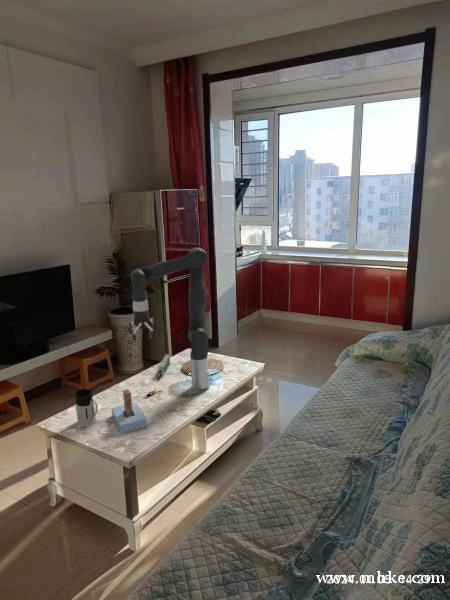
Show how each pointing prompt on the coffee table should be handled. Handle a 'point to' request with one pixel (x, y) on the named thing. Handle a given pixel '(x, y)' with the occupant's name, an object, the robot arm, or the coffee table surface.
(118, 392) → the coffee table surface
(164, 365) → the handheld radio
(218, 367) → the trivet
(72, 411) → the coffee table surface
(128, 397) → the slat
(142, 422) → the end cap
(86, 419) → the white travel mug
